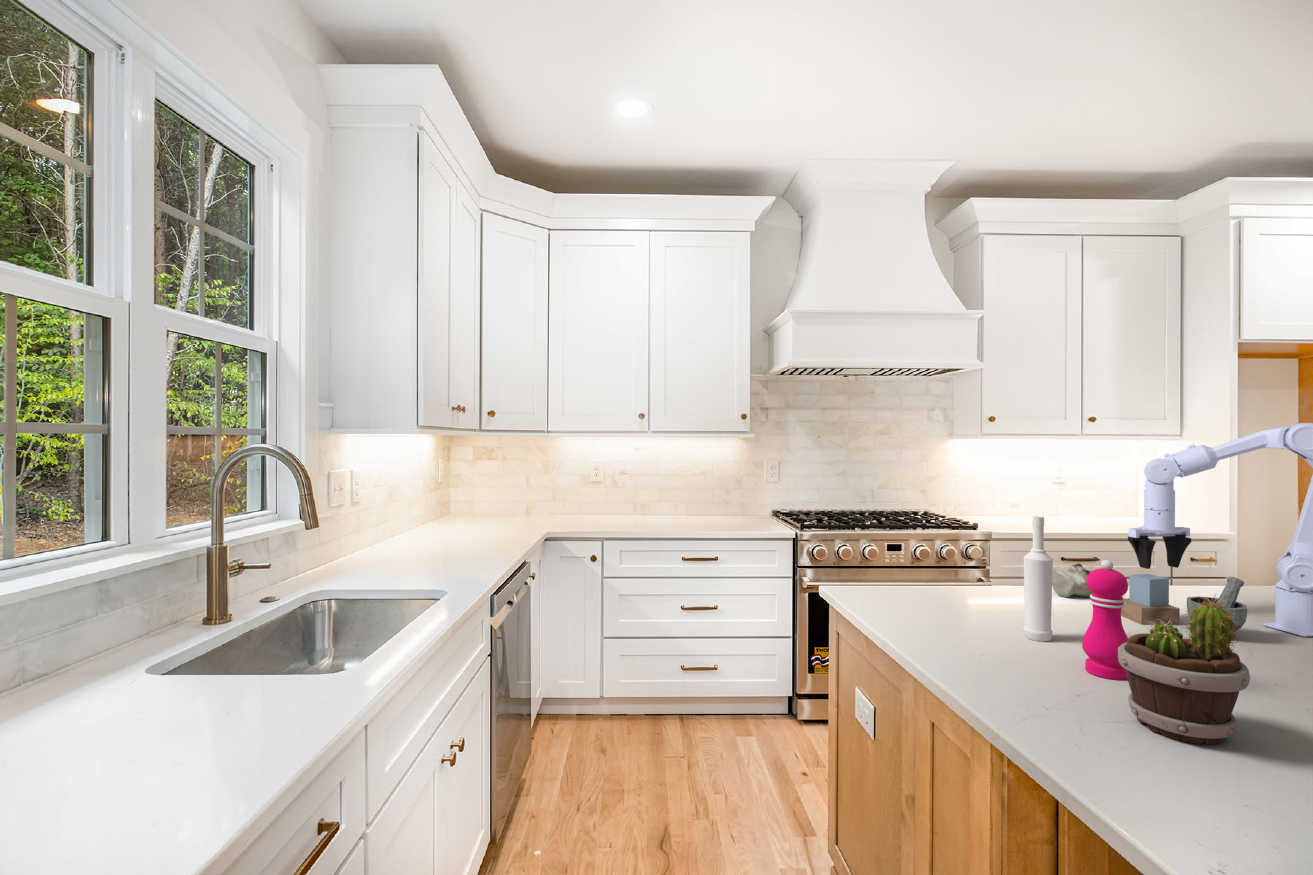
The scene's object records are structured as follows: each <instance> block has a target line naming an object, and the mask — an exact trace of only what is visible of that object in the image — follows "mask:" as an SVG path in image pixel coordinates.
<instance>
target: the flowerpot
mask: <svg viewBox="0 0 1313 875" xmlns="http://www.w3.org/2000/svg"><path fill="white" fill-rule="evenodd" d="M1216 595H1217V594H1215V595H1214V596H1212V598H1216ZM1201 597H1202V596H1200V598H1201ZM1203 597H1204V598H1205V597H1206V596H1203ZM1204 598H1203V599H1204ZM1206 599H1207V598H1206ZM1206 599H1205V600H1206ZM1205 600H1204V601H1203V602H1202V604H1201V603H1200V601H1199V602H1198V603H1199V604H1198V605H1199V606H1200V605H1201V606H1200V607H1198V606H1196V607H1197V608H1196V607H1194V609H1193V610H1192V609H1190V610H1192V613H1191V612H1190V613H1191V615H1190V613H1189V614H1188V611H1186V613H1185V614H1182V615H1183V616H1184V615H1185V618H1184V619H1187V620H1186V624H1184V626H1183V627H1182V626H1180V628H1179V629H1178V627H1177V626H1176V625H1175V624H1174V625H1167V624H1168V623H1169V622H1170V621H1169V622H1168V623H1167V624H1166V623H1163V624H1166V625H1163V624H1161V625H1155V624H1154V623H1155V622H1154V623H1153V624H1154V625H1150V626H1151V627H1150V628H1148V627H1147V628H1146V629H1148V630H1149V633H1136V634H1133V635H1131V636H1130V637H1128V641H1127V642H1126V643H1123V644H1122V645H1121V646H1119V648H1118V660H1119V663H1120V665H1121V666H1122V667H1123V668H1125V669H1126V674H1127V682H1128V685H1129V689H1130V694H1129V695H1128V698H1127V699H1128V704H1129V707H1130V710H1131V711H1130V712H1132V714H1133V716H1135V717H1136V720H1137V722H1139V724H1146V727H1147V728H1148V730H1150V731H1152V732H1154V733H1157V734H1159V733H1160V734H1161V735H1163V736H1164V737H1167V738H1168V739H1169V738H1170V739H1173V740H1176V741H1177V740H1178V741H1183V742H1184V743H1190V744H1195V745H1200V744H1205V745H1216V744H1220V743H1221V742H1223V740H1225V738H1229V737H1230V736H1232V735H1233V734H1234V732H1235V729H1236V725H1237V722H1238V721H1237V718H1236V716H1235V715H1234V714H1233V711H1234V708H1235V706H1236V703H1237V701H1238V697H1239V694H1240V691H1243V690H1245V689H1247V687H1248V686H1249V684H1250V679H1251V675H1250V671H1249V668H1248V667H1247V665H1246V664H1244V663H1243V662H1242V661H1241V659H1240V656H1239V654H1238V653H1237V652H1236V651H1235V649H1236V646H1235V645H1234V644H1237V643H1239V640H1240V638H1239V636H1240V635H1238V634H1239V632H1238V633H1237V632H1236V631H1238V630H1240V629H1239V628H1238V630H1237V629H1236V631H1235V632H1234V633H1235V635H1234V636H1233V633H1232V632H1233V631H1234V630H1235V629H1234V630H1233V628H1234V627H1235V626H1234V625H1236V626H1237V622H1238V621H1237V622H1236V623H1234V622H1233V621H1232V619H1231V618H1230V617H1233V616H1235V615H1233V614H1234V613H1235V612H1234V613H1233V614H1232V615H1233V616H1231V613H1230V611H1229V614H1228V613H1226V612H1225V611H1224V610H1225V609H1224V608H1227V607H1222V605H1221V606H1220V604H1221V603H1220V604H1219V603H1218V602H1216V603H1218V604H1216V603H1215V601H1216V600H1218V599H1215V600H1214V602H1213V599H1212V602H1211V601H1210V600H1209V599H1207V601H1208V602H1209V601H1210V602H1209V604H1208V603H1207V601H1206V602H1205ZM1219 602H1221V601H1219ZM1203 603H1204V604H1203ZM1205 603H1207V604H1206V605H1205ZM1222 604H1223V603H1222ZM1218 605H1219V607H1218ZM1194 606H1195V605H1194ZM1191 607H1192V608H1193V606H1191ZM1222 608H1223V609H1224V610H1222ZM1226 611H1227V610H1226ZM1231 612H1232V611H1231ZM1182 615H1181V616H1182ZM1235 619H1236V618H1235ZM1157 620H1158V619H1157ZM1170 620H1171V619H1170ZM1233 620H1234V619H1233ZM1160 621H1161V620H1160ZM1163 621H1164V620H1163ZM1151 623H1152V622H1151ZM1171 624H1172V621H1171ZM1240 625H1241V624H1240ZM1153 626H1154V627H1153ZM1233 626H1234V627H1233ZM1237 627H1238V626H1237ZM1181 629H1182V630H1183V629H1184V630H1185V629H1186V630H1185V632H1186V634H1188V636H1189V638H1188V637H1187V636H1185V637H1184V635H1183V633H1181V632H1180V631H1181ZM1236 633H1237V634H1236ZM1234 637H1235V638H1234ZM1232 639H1235V640H1232ZM1237 639H1238V640H1237Z"/></svg>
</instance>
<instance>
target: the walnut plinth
mask: <svg viewBox="0 0 1313 875" xmlns="http://www.w3.org/2000/svg"><path fill="white" fill-rule="evenodd" d="M1122 598H1123V597H1122ZM1123 599H1124V600H1125V601H1124V605H1125V606H1124V607H1123V608H1122V609H1121V618H1125V619H1127V620H1129V621H1132V622H1134V623H1136V624H1139V625H1141V626H1145V625H1146V626H1154V624H1155V625H1161V624H1163V623H1166V624H1167V623H1168V622H1169V621H1170V622H1169V623H1168V624H1167V625H1168V626H1170V625H1173V626H1180V622H1181V621H1180V613H1181V612H1180V608H1179V607H1177V606H1174V605H1171V604H1169V606H1153V607H1149V606H1145V605H1142V604H1139V603H1135V602H1132V601H1129V598H1123ZM1157 619H1158V620H1157ZM1170 619H1171V620H1170ZM1160 620H1161V621H1160ZM1163 620H1164V621H1163ZM1171 621H1172V624H1171ZM1151 622H1152V623H1151ZM1154 622H1155V623H1154ZM1153 623H1154V624H1153ZM1166 624H1163V625H1166ZM1174 624H1175V625H1174Z"/></svg>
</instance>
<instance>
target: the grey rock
mask: <svg viewBox="0 0 1313 875" xmlns="http://www.w3.org/2000/svg"><path fill="white" fill-rule="evenodd" d="M1091 571H1093V570H1092V569H1089V568H1084V567H1083V565H1082V563H1076V564H1072V565H1070V566H1069V567H1068V569H1067V570H1065V571H1062V570H1059V569H1056V568H1053V574H1052V590H1053V591H1054V593H1056V594H1057V596H1059V597H1061V598H1069V597H1071V596H1072V595H1074V596H1077V597H1079V598H1080V597H1081V598H1082V597H1083V598H1090V595H1091V594H1092V592H1091V591H1090V590H1089V588H1088V587H1087V583H1086V581H1087V576H1088V575H1089V573H1090V572H1091Z"/></svg>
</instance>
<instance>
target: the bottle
mask: <svg viewBox="0 0 1313 875" xmlns="http://www.w3.org/2000/svg"><path fill="white" fill-rule="evenodd" d="M1031 522H1032V524H1031V525H1032V548H1030V552H1028V553H1026V555H1024V556H1023V588H1024V589H1023V592H1024V593H1023V595H1024V598H1023V600H1024V626H1023V628H1022V629H1023V630H1022V631H1023V637H1025V638H1026V639H1027V640H1030V639H1031V640H1032V641H1034V640H1035V641H1034V642H1041V641H1044V643H1045V641H1048V642H1051V641H1052V639H1053V632H1054V631H1053V630H1052V606H1053V605H1052V602H1053V586H1052V574H1053V569H1054V568H1053V566H1054V559H1053V557H1051V556H1050V555H1049V554H1048V553H1047V551H1046V549H1045V544H1044V540H1045V538H1044V537H1045V529H1044V528H1045V527H1044V526H1045V517H1044V516H1038V515H1034V516H1032V521H1031ZM1050 640H1051V641H1050Z"/></svg>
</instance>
